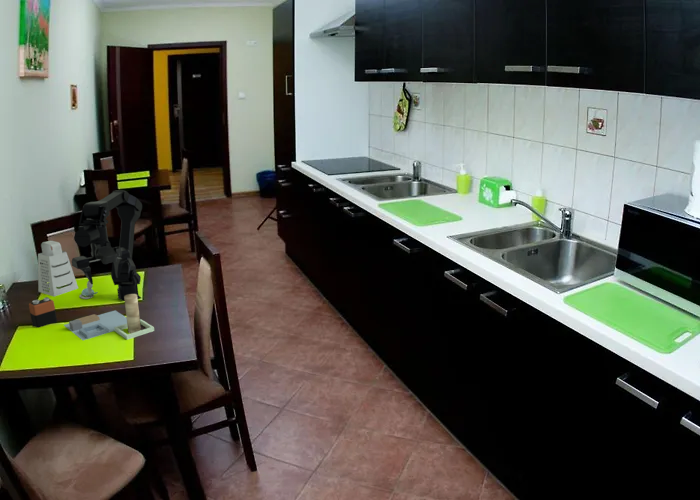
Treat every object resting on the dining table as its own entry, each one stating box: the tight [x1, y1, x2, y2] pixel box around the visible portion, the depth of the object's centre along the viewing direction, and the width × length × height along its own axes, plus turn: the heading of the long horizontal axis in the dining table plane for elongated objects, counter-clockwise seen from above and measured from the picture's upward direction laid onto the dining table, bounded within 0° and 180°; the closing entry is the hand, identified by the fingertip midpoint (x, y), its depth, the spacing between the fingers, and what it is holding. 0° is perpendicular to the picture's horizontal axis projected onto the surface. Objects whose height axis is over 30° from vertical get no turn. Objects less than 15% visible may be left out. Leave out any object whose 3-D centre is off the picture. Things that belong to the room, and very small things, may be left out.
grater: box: [37, 240, 79, 297], centre depth 233 cm, size 10×10×20 cm
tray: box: [114, 318, 155, 340], centre depth 195 cm, size 9×9×2 cm
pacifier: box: [79, 280, 98, 300], centre depth 228 cm, size 7×6×6 cm
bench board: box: [63, 309, 127, 341], centre depth 200 cm, size 18×17×4 cm
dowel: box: [124, 294, 142, 334], centre depth 193 cm, size 4×4×13 cm
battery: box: [28, 297, 58, 328], centre depth 201 cm, size 4×7×10 cm, turn 140°
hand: (104, 280), depth 208 cm, fingers open, 9 cm apart
